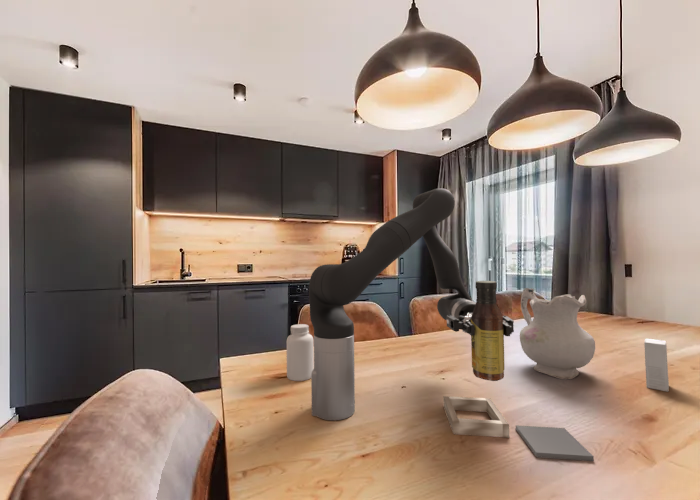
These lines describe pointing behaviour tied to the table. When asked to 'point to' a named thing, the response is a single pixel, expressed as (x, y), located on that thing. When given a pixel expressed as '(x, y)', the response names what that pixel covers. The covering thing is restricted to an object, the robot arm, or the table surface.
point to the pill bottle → (300, 353)
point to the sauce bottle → (487, 334)
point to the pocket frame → (475, 426)
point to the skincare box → (656, 364)
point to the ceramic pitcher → (555, 335)
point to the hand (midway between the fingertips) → (490, 330)
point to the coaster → (553, 443)
